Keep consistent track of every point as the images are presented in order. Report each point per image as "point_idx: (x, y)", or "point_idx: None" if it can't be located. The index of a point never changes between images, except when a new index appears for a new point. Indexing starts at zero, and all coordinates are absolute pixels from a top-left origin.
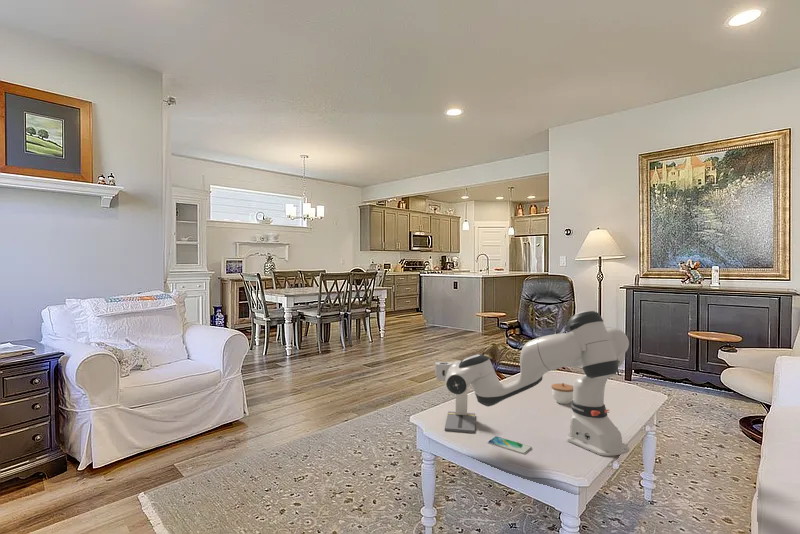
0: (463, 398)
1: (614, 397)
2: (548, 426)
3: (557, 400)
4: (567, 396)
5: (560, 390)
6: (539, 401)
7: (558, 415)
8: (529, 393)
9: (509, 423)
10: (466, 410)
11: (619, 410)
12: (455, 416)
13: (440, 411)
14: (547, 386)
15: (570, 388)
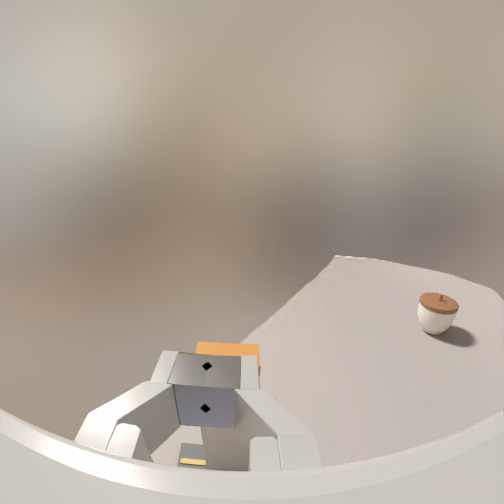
0: (236, 437)
1: (468, 301)
2: None
3: (430, 330)
4: (450, 322)
5: (444, 312)
6: (398, 336)
7: (459, 378)
8: (366, 312)
9: None
10: (248, 462)
11: (500, 330)
12: None
13: None
14: (379, 289)
15: (454, 304)
